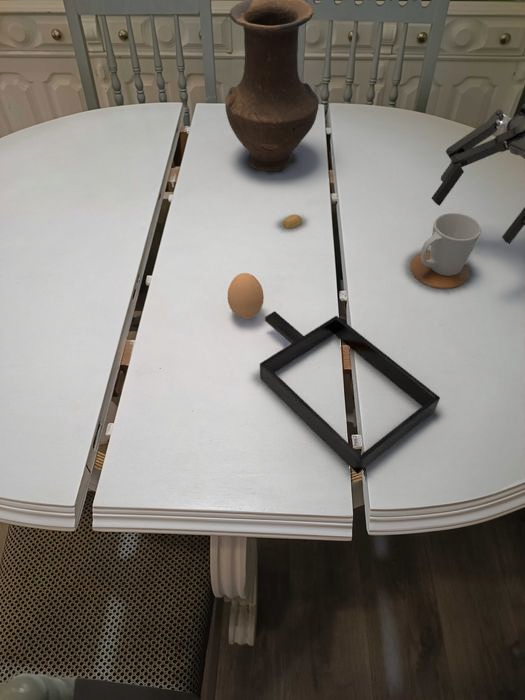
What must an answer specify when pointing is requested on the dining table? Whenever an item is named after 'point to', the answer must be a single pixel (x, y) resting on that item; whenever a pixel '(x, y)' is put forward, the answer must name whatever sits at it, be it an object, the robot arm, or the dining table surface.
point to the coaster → (436, 275)
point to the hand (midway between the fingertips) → (469, 220)
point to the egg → (245, 295)
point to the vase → (271, 83)
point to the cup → (451, 243)
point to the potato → (292, 221)
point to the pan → (371, 355)
